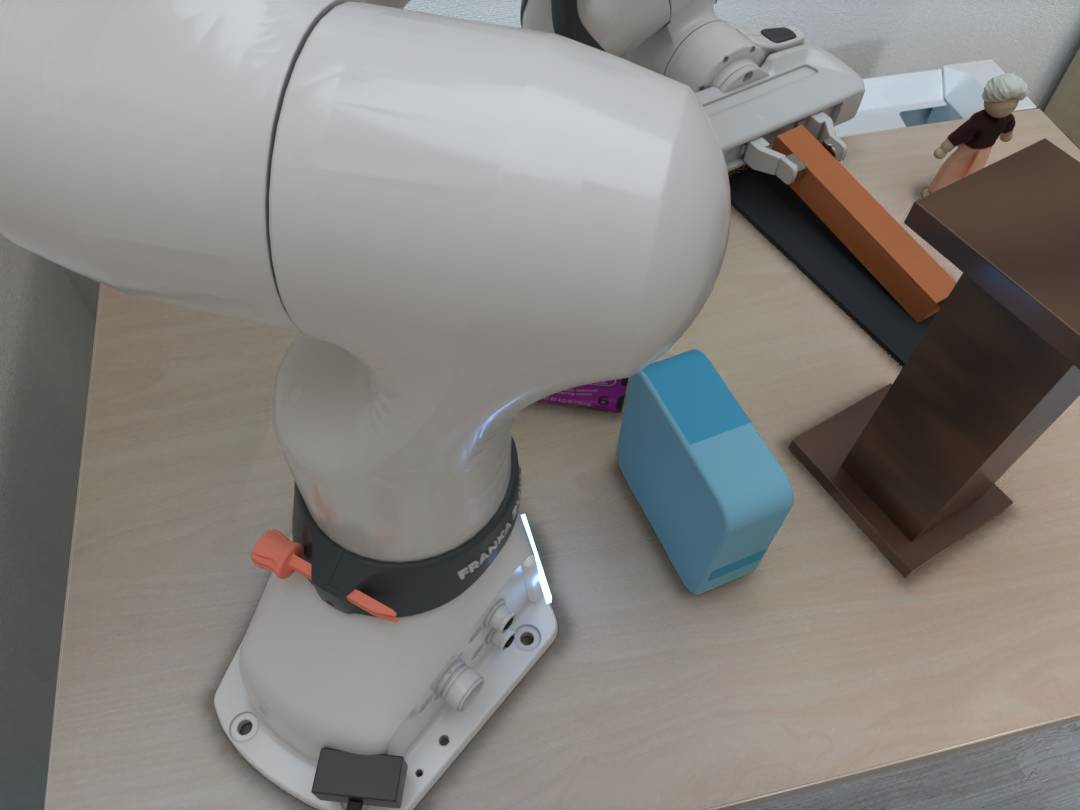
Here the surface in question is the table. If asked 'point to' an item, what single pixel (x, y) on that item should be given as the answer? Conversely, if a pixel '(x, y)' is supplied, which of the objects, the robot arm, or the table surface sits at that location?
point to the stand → (967, 364)
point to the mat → (825, 260)
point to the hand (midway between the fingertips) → (819, 166)
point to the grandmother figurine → (980, 131)
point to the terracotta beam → (866, 227)
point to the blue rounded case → (700, 471)
